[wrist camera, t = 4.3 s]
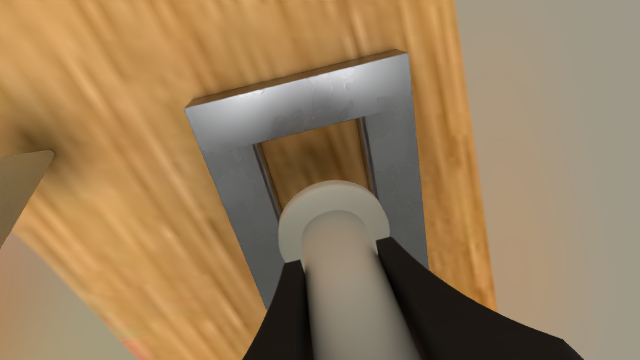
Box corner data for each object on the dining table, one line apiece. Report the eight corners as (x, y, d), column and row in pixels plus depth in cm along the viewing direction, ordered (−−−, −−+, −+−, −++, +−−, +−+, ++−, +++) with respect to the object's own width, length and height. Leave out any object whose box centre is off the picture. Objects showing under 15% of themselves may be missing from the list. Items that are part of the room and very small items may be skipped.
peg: (388, 257, 17) (468, 432, 10) (291, 278, 17) (301, 470, 10) (378, 169, 15) (472, 313, 8) (266, 193, 15) (256, 361, 8)
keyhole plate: (423, 296, 28) (433, 316, 27) (284, 331, 28) (284, 354, 27) (395, 49, 19) (408, 52, 18) (192, 99, 19) (183, 108, 18)
